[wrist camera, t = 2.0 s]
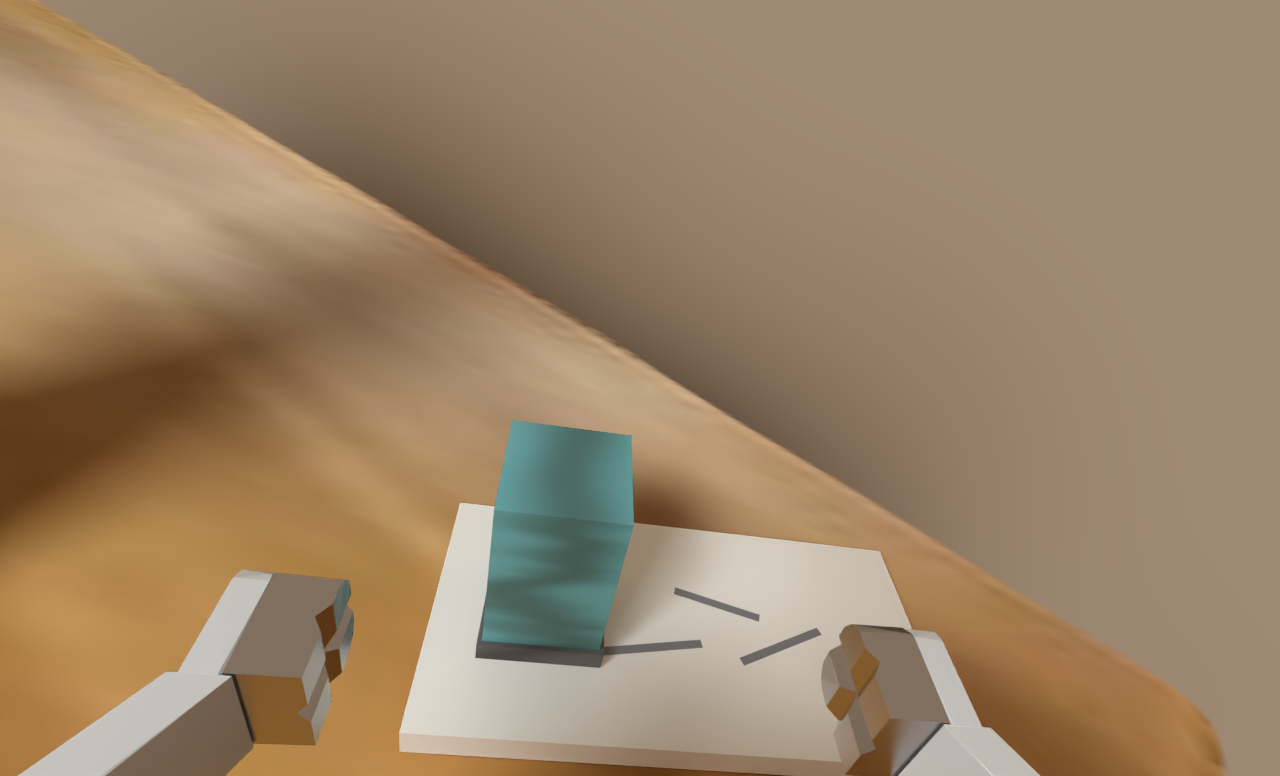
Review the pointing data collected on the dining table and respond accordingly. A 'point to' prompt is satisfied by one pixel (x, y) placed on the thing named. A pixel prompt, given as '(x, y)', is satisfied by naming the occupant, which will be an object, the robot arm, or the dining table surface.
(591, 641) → the block
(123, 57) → the dining table surface
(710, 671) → the board
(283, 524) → the dining table surface
